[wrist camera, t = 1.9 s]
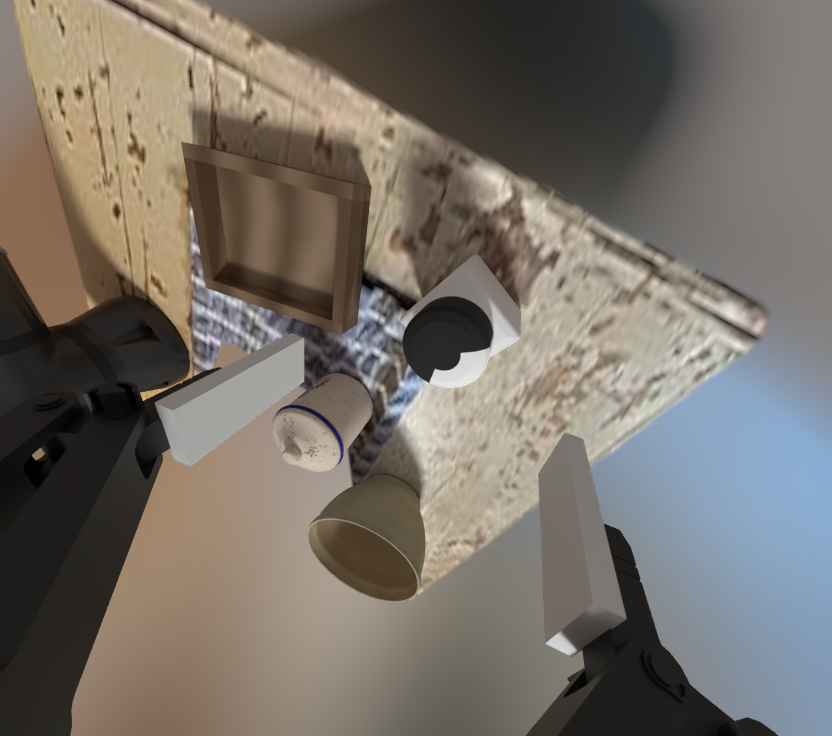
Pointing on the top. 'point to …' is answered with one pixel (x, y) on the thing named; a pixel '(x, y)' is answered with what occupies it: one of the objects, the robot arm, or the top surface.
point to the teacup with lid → (322, 422)
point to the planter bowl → (372, 539)
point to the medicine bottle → (460, 326)
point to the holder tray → (279, 235)
